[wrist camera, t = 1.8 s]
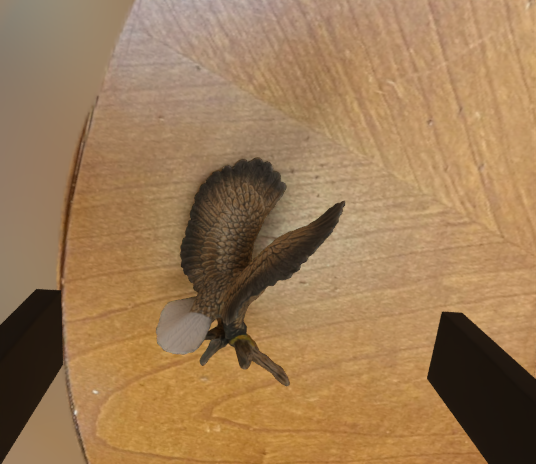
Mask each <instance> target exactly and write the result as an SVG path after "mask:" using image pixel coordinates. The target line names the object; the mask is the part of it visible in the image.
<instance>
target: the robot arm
mask: <svg viewBox="0 0 536 464" xmlns="http://www.w3.org/2000/svg"><path fill="white" fill-rule="evenodd" d="M62 365H63V348H62V309H61V290H43V289H36V290H35V291H34V292H33V293H32V294H31V295H30V296H29V297H28V298H27V299H26V300H25V301H24V302H23V303H22V304H21V305H20V306H19V307H18V308H17V309H16V310H15V311H14V312H13V313H12V314H11V315H10V316H9V317H8V318H7V319H6V320H5V321H4V322H3V323H2V324H1V325H0V464H2V462H3V460H4V459H5V457H6V455H7V454H8V452H9V451H10V449H11V447H12V446H13V444H14V443H15V441H16V439H17V438H18V436H19V435H20V433H21V431H22V430H23V428H24V426H25V425H26V423H27V422H28V420H29V418H30V417H31V415H32V414H33V412H34V410H35V409H36V407H37V405H38V404H39V402H40V401H41V399H42V397H43V396H44V394H45V393H46V391H47V389H48V388H49V386H50V384H51V383H52V381H53V380H54V378H55V377H56V375H57V373H58V372H59V370H60V368H61V367H62ZM427 379H428V381H429V382H430V383H431V385H432V386H433V387H434V389H435V390H436V392H437V393H438V394H439V396H440V397H441V399H442V400H443V401H444V403H445V404H446V406H447V407H448V408H449V410H450V411H451V412H452V414H453V415H454V417H455V418H456V419H457V421H458V422H459V424H460V425H461V426H462V428H463V429H464V431H465V432H466V433H467V435H468V436H469V437H470V439H471V440H472V442H473V443H474V444H475V446H476V447H477V449H478V450H479V451H480V453H481V454H482V456H483V457H484V458H485V460H486V461H487V462H488V464H536V379H535V378H534V377H533V376H532V375H531V374H529V373H528V372H527V371H526V370H525V369H524V368H523V367H522V366H521V365H519V364H518V363H517V362H516V361H515V360H514V359H513V358H512V357H511V356H509V355H508V354H507V353H506V352H505V351H504V350H503V349H502V348H501V347H500V346H498V345H497V344H496V343H495V342H494V341H493V340H492V339H491V338H490V337H488V336H487V335H486V334H485V333H484V332H483V331H482V330H481V329H480V328H478V327H477V326H476V325H475V324H474V323H473V322H472V321H471V320H470V319H468V318H467V317H466V316H465V315H464V314H463V313H457V312H442V314H441V318H440V323H439V327H438V332H437V336H436V341H435V345H434V349H433V354H432V358H431V363H430V367H429V372H428V376H427Z"/></svg>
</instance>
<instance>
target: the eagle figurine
mask: <svg viewBox="0 0 536 464" xmlns="http://www.w3.org/2000/svg"><path fill="white" fill-rule="evenodd" d="M285 190H286V184H285V183H284V182H281V175H280V173H279V172H276V171H273V166H272V164H271V163H270V162H268V161H267V162H263V161H262V159H260V158H254V159H253V160H252V161H250V162H247V160H245V159H242V160H240V161H239V162H237V163H236V164H235V166H234V168H231V167H230V166H229V165H227V166H224V168H223V169H222V171H221V172H219V171H215V172H213V174H212V175H211V176H210V177H208V179H207V180H206V183H204V184H202V185H201V187H200V190H199V192H198V193H197V194H196V195H195V203H194V204H193V206H192V210H191V212H190V218H191V220H189V221H188V226H187V228H186V231H185V235H186V237H185V238H183V240H182V244H181V247H180V248H181V253H180V256H181V259H182V262H181V267H182V268H183V272H184V274H185V275H187V276H188V279H189V281H190V282H191V283H193V284H194V285H193V289H194V290H195V291H197V292H198V294H197V296H195V297H191V298H186V299H181V300H175V301H171V302H169V303H167V304H166V305H165V307H164V308H163V310H162V312H161V316H160V319H159V323H158V326H157V328H156V334H157V343H158V345H160V346H161V347H162V349H163V350H164V351H166V352H170V353H173V354H182V355H183V354H187V353H191V352H194V351H195V350H197V349H198V348H199V347H200V345H201V344H202V343H203V341H204V340H211V341H210V343H209V346H208V348H207V349H206V351H205V352H204V354H203V355H202V357H201V358H200V364H201V365H202V366H204V365H205V364H206V363H207V361H208V360H209V358H210V357H211V356H212V355H213V354H214V353H215V352H217V351H218V350H219V349H221V348H223V347H225V346H226V345H227V344H228V343H229V344H230V345H231V346H233V347H235V350H236V354H237V358H238V361H239V365H240V367H241V368H242V369H248V367H249V366H250V364H251V361H253V362H255V363H256V364H258V365H260V366H261V367H263V368H265V369H266V370H267V371H269V372H270V373H272V374H273V376H274V377H275V378H276V379H277V380H278V381H279V382H280V383H281V384H283V385H285V386H289V384H290V382H289V379H288V377H287V375H286V373H285V372H284V370H283V368H282V367H280V366H279V365H277V364H275V363H274V362H273V361H272V360H271V359H270V358H269V357H268V356H267V355H265V354H263V353H261V352H260V351H259V349H258V347H257V344H256V343H255V342H254V341H253V340H252V339H251V337H250V336H249V335H248V334H247V333H246V332H247V326H246V325H245V323H244V320H243V319H244V316H245V312H246V310H247V308H248V306H249V305H250V303H251V302H252V301H254V300H256V299H257V298H258V297H259V296H260V295H261V294H262V293H263V292H264V291H265V289H266V288H267V287H268V286H274V285H275V284H276V282H277V281H279V280H286V279H289V278H291V277H292V275H293V273H295V272H297V271H299V270H300V268H301V264H302V263H305V262H306V261H307V260H308V257H309V256H311V255H312V254H314V252H315V251H316V250H317V248H318V247H319V246H320V245H321V244H322V243H323V242H324V241H325V240H326V239H327V238H328V237H329V235H330V234H331V233H332V232H333V229H334V228H335V226H336V224H337V223H338V222H339V217H340V215H341V214H342V212H343V207H344V206H345V201H342V202H341V203H337V204H335V205H334V206H333V207H331V208H329V209H328V210H327V211H326V212H325V213H324V214H323V215H321V216H320V217H319V218H318V219H316V220H315V221H313V222H312V223H310V224H309V225H307V226H304V227H302V228H298V229H296V230H294V231H290V232H288V233H286V234H284V235H282V236H280V237H278V238H277V239H275V240H274V241H273V242H272V243H271V244H270V245H269V246H268V247H266V248H265V249H264V250H263V251H262V252H261V253H260V254H258V256H257V257H255V258H254V259H253V261H252V252H253V247H254V242H255V240H256V238H257V235H258V233H259V231H260V229H261V227H262V224H263V222H264V220H265V218H266V216H267V215H268V214H269V212H270V211H271V210H272V209H273V208H274V207H275V205H276V203H277V202H278V201H279V199H280V198H281V197H282V195H283V193H284V191H285ZM215 319H217V321H218V325H217V327H215V328H213V329H211V330H210V331H209V329H210V326H211V323H212V322H213V321H214V320H215ZM212 339H213V340H212Z"/></svg>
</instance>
